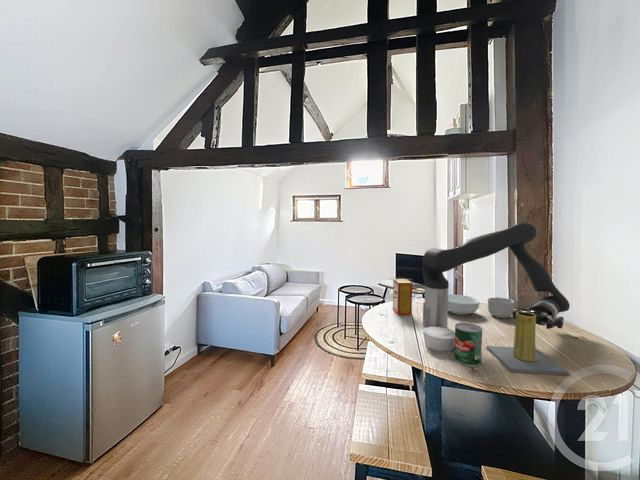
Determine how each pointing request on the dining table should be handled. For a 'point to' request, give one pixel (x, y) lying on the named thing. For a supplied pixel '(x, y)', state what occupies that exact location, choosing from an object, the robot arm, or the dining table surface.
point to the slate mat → (526, 362)
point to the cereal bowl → (462, 304)
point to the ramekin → (439, 338)
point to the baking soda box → (402, 296)
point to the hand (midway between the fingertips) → (532, 322)
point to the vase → (525, 336)
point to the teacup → (501, 307)
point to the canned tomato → (468, 344)
